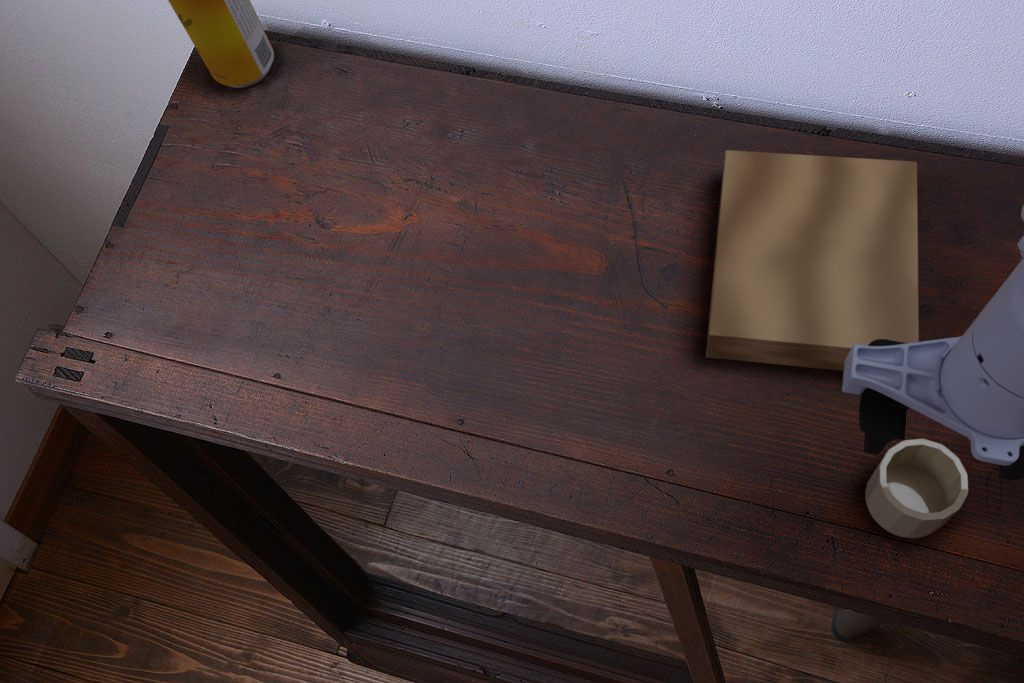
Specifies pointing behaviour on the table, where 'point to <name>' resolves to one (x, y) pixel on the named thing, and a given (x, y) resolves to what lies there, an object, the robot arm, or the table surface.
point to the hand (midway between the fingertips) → (937, 450)
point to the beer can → (227, 39)
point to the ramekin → (916, 488)
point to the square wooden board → (813, 258)
